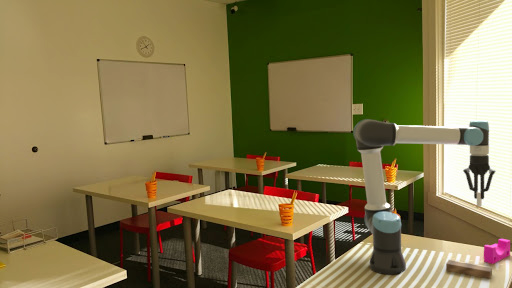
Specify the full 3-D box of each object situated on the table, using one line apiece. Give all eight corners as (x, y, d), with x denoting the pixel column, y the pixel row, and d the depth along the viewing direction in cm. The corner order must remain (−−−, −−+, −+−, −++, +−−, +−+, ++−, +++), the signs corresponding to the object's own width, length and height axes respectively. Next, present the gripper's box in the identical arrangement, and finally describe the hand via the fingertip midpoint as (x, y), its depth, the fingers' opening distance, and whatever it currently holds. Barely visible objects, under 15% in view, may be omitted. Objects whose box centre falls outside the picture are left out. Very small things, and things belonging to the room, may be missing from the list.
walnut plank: (446, 270, 168) (446, 263, 168) (448, 266, 172) (448, 259, 172) (490, 278, 158) (490, 271, 158) (491, 274, 162) (491, 267, 162)
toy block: (495, 252, 186) (495, 237, 185) (510, 256, 181) (510, 240, 180) (478, 260, 178) (478, 244, 177) (492, 264, 172) (492, 247, 172)
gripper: (461, 155, 183) (461, 206, 185) (494, 156, 175) (494, 209, 177) (464, 153, 189) (465, 202, 191) (496, 154, 181) (496, 205, 183)
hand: (479, 205), depth 184 cm, fingers closed
